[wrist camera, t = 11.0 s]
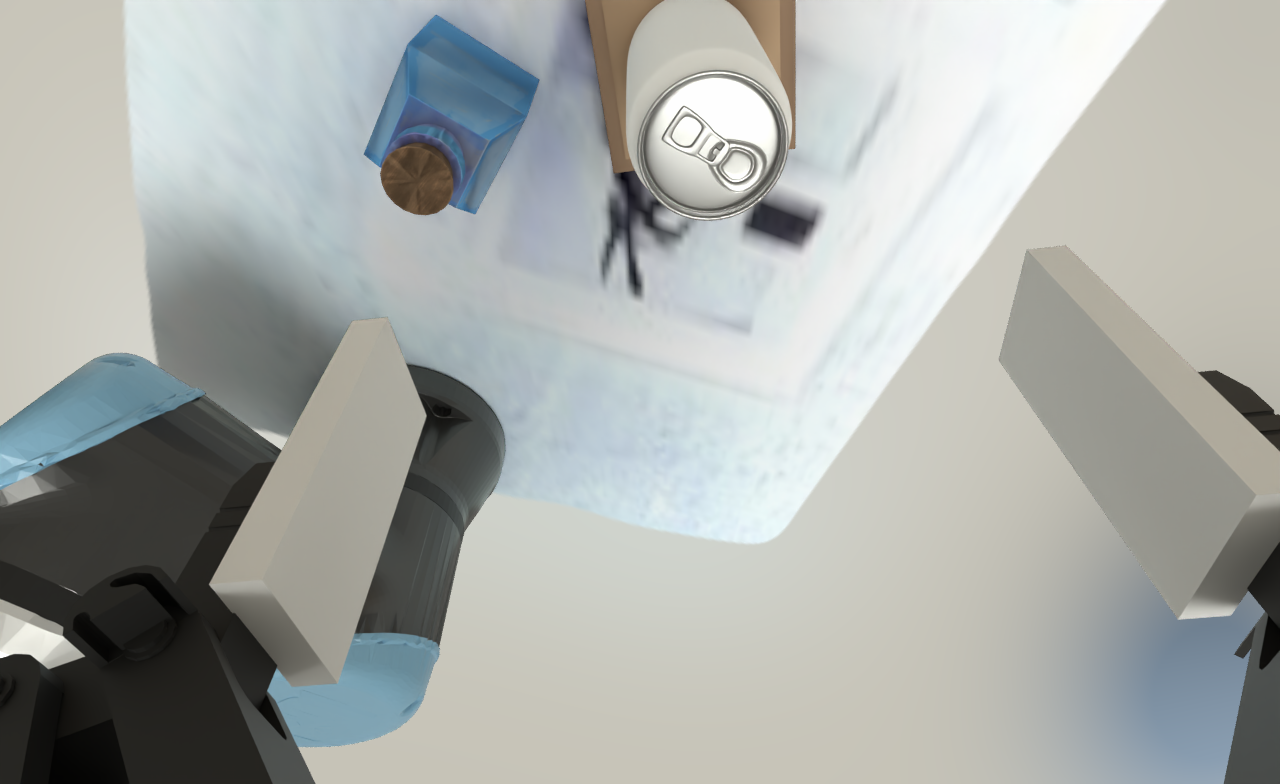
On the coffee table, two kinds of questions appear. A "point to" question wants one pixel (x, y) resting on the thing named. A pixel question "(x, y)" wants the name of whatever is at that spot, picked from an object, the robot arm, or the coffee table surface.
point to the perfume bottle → (448, 121)
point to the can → (704, 110)
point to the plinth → (613, 21)
